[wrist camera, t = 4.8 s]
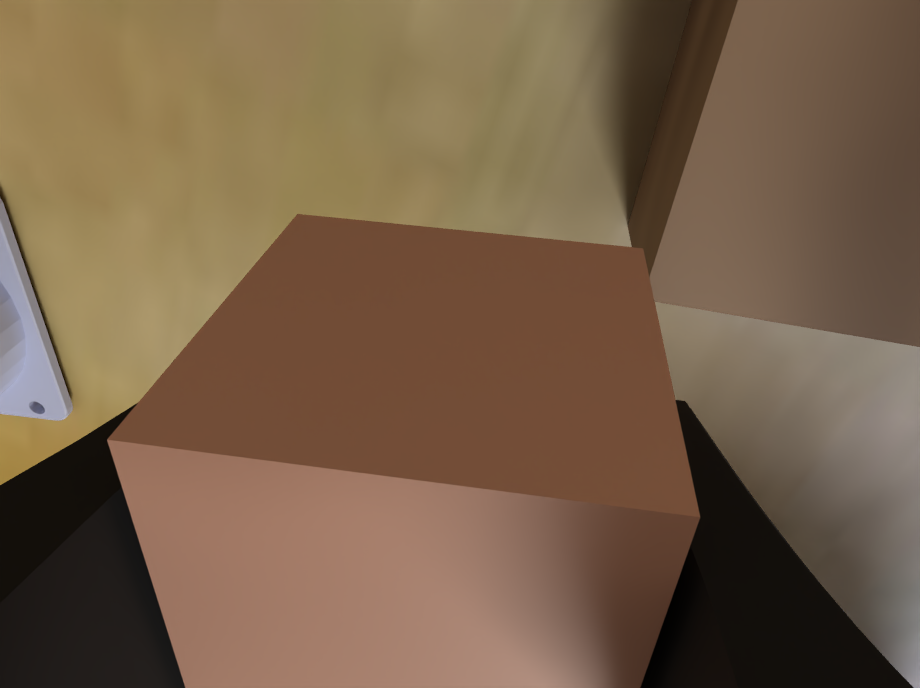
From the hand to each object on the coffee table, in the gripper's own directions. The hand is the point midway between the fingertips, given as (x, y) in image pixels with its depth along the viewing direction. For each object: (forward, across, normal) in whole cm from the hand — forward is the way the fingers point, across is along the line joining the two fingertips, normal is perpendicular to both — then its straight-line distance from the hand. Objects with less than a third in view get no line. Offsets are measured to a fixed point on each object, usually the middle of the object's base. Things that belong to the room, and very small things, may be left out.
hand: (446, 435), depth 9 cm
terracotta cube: (+1, 0, 0) cm, 1 cm away
